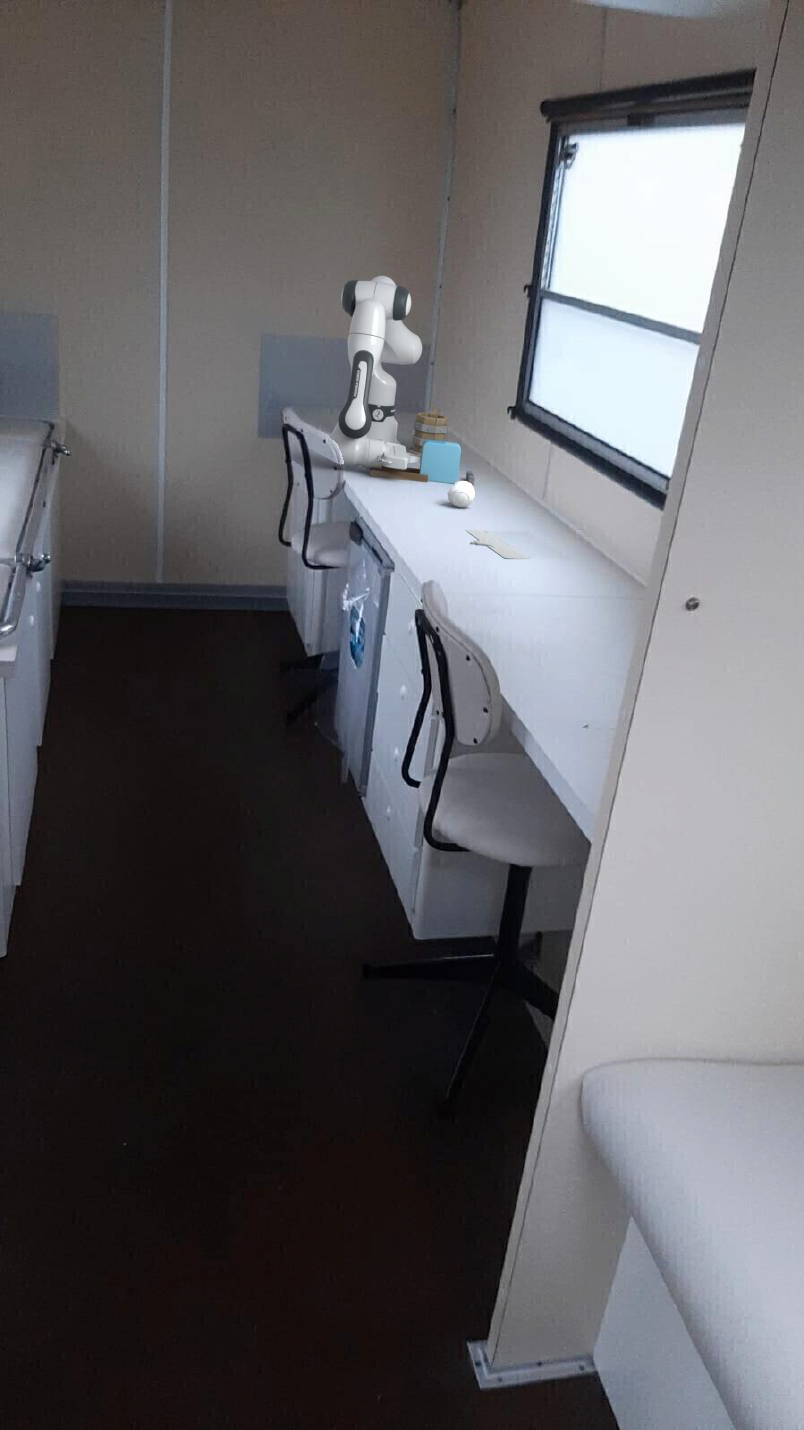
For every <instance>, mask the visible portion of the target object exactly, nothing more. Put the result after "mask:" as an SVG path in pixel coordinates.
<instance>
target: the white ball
mask: <svg viewBox="0 0 804 1430" xmlns="http://www.w3.org/2000/svg"><path fill="white" fill-rule="evenodd" d="M475 495H476V492H475V487H474V486H472V484H471V483H468V482H467V481H466V480H460V481H456V482H455V483H454V485H453V486H452V487H451V489H449V491H448V492H447V499H448V501H449V502H450V504H452V505H453V506H454V507H456V508H466V507H468V506H470V505H471V504H472V503H473V501H474V500H475V498H476V497H475Z"/></svg>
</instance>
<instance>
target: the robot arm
mask: <svg viewBox="0 0 804 1430" xmlns="http://www.w3.org/2000/svg"><path fill="white" fill-rule="evenodd" d="M408 289H409V288H407V287H405V286H403V285H400V284H398V285H396V283H395V281H394V280H393V279H392V278H391V277H388V276H386V275H378V276H375V277H373V278H372V279H371V280H359V279H352V280H350V279H349V280H348V281H347V282H346V283H345V284H344V286H343V288H342V291H341V295H340V300H341V306H342V309H343V310H344V312H345V313H346V314H347V315H349V317H351V321H350V327H349V332H348V337H347V357H348V361H349V365H350V382H349V389H348V396H347V401H346V403H345V405H344V407H343V408H342V410H340V414H339V416H338V421H337V423H336V425H335V427H334V429H333V430H332V432H330V433H329V435H328V436H329V437H330V438H331V439H332V440H334V441H335V442H336V443H337V444H338V446H339V449H340V451H341V453H342V457H343V460H344V465H343V466H348V467H349V466H350V467H355V466H361V467H363V468H366V469H370V468H375V469H381V468H382V465H383V466H385V467H389V468H395V469H402V470H404V469H407V467H408V464H414V463H417V464H420V463H421V456H420V455H414V454H411V453H409V452H407V447H406V445H403V444H402V443H401V442H400V441H399V440H398V439H397V436H398V435H397V434H398V425H399V424H398V421H397V419H396V418H395V412H396V405H395V400H396V392H397V381H396V380H395V378H394V377H393V376H392V375H391V374H389V373H388V372H387V371H385V370H384V369H383V366H382V363H387V364H393V365H394V364H395V365H401V366H402V365H414V364H416V363H417V362H418V361H419V359H421V356H422V353H423V343H422V340H421V338H420V336H418V335H417V334H415V333H414V332H413V331H411V330H410V329H409V328H407V326H406V325H405V324H404V323H403V320H405V319H406V318H407V317H408V314H409V313H410V311H411V307H412V297H411V292H410V291H409V290H408Z"/></svg>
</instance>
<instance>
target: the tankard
mask: <svg viewBox="0 0 804 1430" xmlns="http://www.w3.org/2000/svg"><path fill="white" fill-rule="evenodd" d="M448 419H449V417H448V416H445V415H443V414H439V413H438V407H433V408H432V411H431V412H418V413H417V414H416V419H415V421H414V423H413V429H414V434H413V435H412V437H411V438H412V439H411V443H412V444H413V445H412V447H411V448H409V450H408V453H411V454H414V455H420V456H421V455H422V447H423V442H424V441H425V440H435V441H443V442H447V438H446V434H447V432H448V431H449V424H448Z"/></svg>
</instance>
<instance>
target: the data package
mask: <svg viewBox="0 0 804 1430" xmlns="http://www.w3.org/2000/svg"><path fill="white" fill-rule="evenodd" d="M461 455H462V449H461V446H460V444H459V443H458V442H450V441H446V442H443V441H435V440H425V441H424V442H423V447H422V455H421V463H419V469H420V471H419V474H424V475H428V481H427V482H436V483H445V484H451V483H452V484H455V482H458V481H457V480H458V476H459V470H460V462H461ZM452 484H451V485H452Z"/></svg>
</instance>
